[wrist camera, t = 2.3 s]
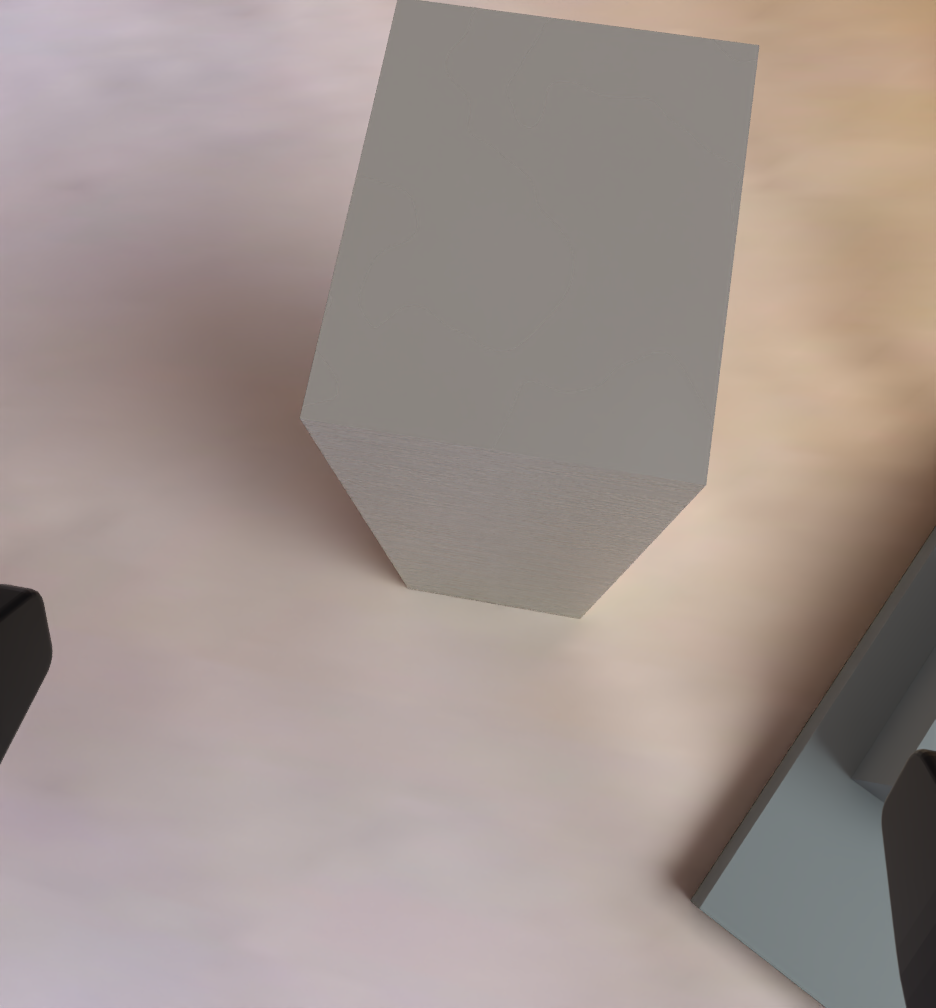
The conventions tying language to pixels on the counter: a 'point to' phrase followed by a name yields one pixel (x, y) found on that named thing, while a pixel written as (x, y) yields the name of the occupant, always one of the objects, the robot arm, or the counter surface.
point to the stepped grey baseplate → (837, 815)
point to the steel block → (532, 298)
